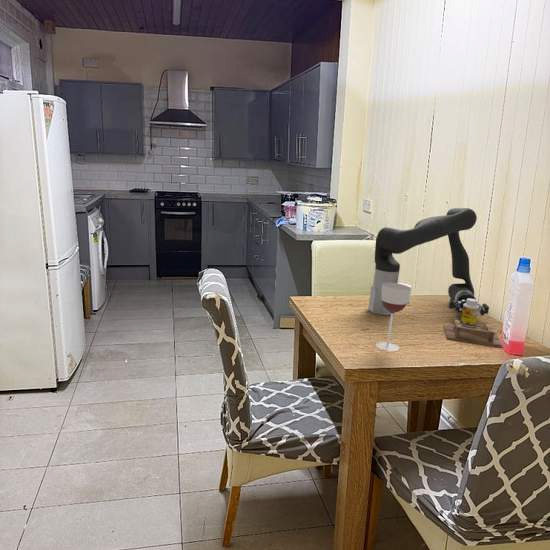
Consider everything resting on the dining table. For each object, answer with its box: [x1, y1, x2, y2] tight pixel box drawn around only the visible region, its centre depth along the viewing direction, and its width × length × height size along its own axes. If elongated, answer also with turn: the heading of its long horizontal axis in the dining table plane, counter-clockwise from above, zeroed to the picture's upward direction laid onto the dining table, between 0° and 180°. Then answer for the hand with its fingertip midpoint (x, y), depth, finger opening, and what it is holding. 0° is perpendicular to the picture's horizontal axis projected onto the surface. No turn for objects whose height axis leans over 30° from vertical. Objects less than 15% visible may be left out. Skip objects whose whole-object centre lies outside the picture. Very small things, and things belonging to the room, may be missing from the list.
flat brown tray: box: [443, 319, 503, 348], centre depth 178 cm, size 14×18×4 cm
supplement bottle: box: [459, 298, 479, 329], centre depth 191 cm, size 6×6×10 cm
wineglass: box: [375, 282, 410, 352], centre depth 160 cm, size 8×9×20 cm
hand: (470, 311), depth 190 cm, fingers open, 8 cm apart
